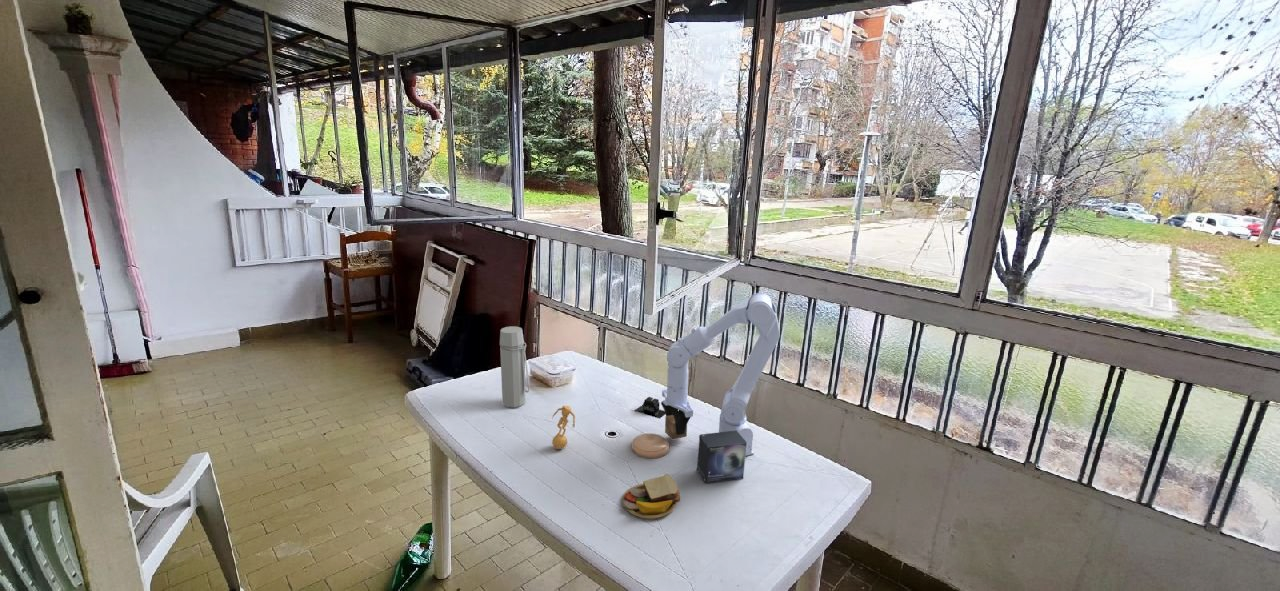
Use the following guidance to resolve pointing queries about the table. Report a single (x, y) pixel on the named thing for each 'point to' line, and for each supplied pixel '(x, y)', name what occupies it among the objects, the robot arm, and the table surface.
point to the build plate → (651, 408)
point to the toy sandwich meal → (652, 497)
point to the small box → (721, 456)
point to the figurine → (560, 439)
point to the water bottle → (513, 366)
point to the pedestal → (650, 446)
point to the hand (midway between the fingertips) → (675, 429)
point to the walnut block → (672, 428)
